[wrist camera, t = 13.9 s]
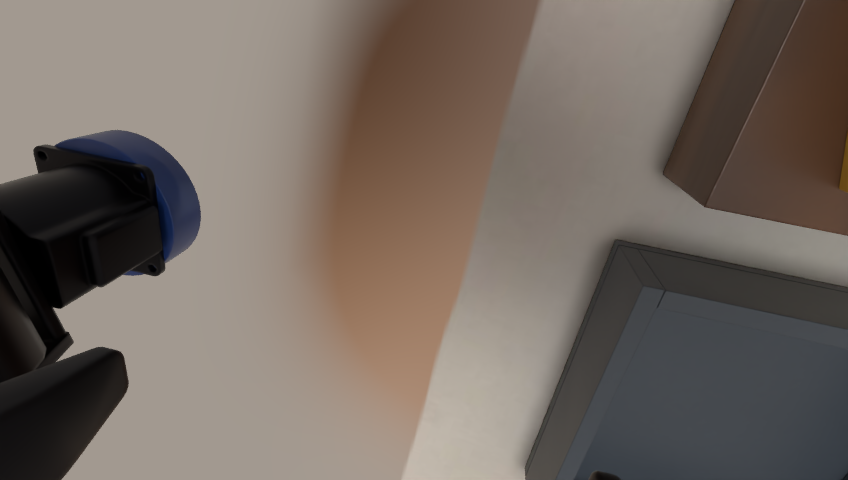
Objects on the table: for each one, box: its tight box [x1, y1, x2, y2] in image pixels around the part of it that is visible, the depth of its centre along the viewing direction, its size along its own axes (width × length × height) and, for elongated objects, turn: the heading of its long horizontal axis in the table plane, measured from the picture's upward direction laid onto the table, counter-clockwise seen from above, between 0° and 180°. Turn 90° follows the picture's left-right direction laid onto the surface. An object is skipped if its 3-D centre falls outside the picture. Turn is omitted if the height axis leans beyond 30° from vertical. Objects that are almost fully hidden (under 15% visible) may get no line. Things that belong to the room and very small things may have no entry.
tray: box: [525, 240, 848, 480], centre depth 20 cm, size 16×16×4 cm
